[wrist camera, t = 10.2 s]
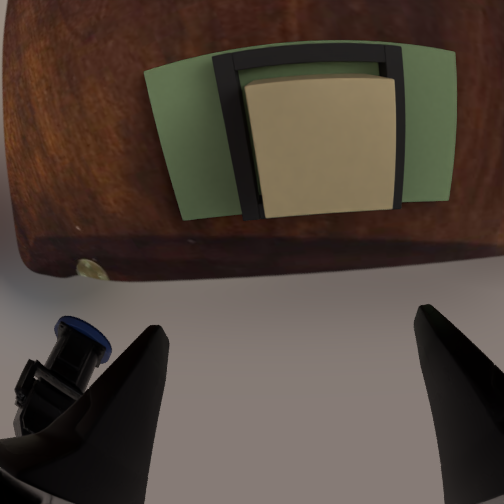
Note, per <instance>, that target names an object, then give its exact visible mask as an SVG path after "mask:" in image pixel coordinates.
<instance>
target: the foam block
mask: <svg viewBox="0 0 504 504" xmlns="http://www.w3.org/2000/svg"><path fill="white" fill-rule="evenodd" d="M244 88H245V94H246V100H247V106H248V112H249V118H250V124H251V130H252V136H253V142H254V148H255V155H256V161H257V167H258V174H259V180H260V186H261V193H262V199H263V206H264V213H265V217H266V218H274V217H286V216H298V215H311V214H324V213H338V212H353V211H369V210H386V209H392V208H393V196H394V181H395V160H396V102H395V82H394V79H391V78H386V77H381V76H375V75H369V74H358V73H343V74H312V75H297V76H285V77H275V78H266V79H258V80H253V81H252V82H250V83H249V84H247V85H246V86H245V87H244Z"/></svg>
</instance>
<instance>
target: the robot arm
mask: <svg viewBox="0 0 504 504" xmlns="http://www.w3.org/2000/svg"><path fill="white" fill-rule="evenodd" d="M414 331H415V336H416V341H417V347H418V353H419V359H420V365H421V369H422V373H423V377H424V380H425V385H426V389H427V393H428V398H429V402H430V406H431V411H432V415H433V421H434V426H435V431H436V437H437V443H438V449H439V454H440V462H441V471H442V479H443V489H444V501H445V504H504V373H503V372H502V371H501V370H500V369H499V368H498V367H497V366H496V365H494V363H493V362H492V361H491V360H490V359H489V358H488V357H487V356H486V355H485V354H484V353H483V352H482V351H481V350H480V349H479V348H478V347H477V346H476V345H475V344H474V343H472V342H471V341H470V340H469V339H468V338H467V337H466V336H465V335H464V334H463V333H462V332H461V331H460V330H459V329H457V328H456V327H455V326H454V325H453V324H452V323H451V322H450V321H449V320H448V319H447V318H445V317H444V316H443V315H442V314H441V313H440V312H439V311H438V310H436V309H435V308H434V307H433V306H432V305H430V304H426V305H421V306H419V308H418V311H417V314H416V317H415V320H414ZM105 351H106V347H105V346H104V345H102V344H100V343H98V342H96V341H95V340H93V339H91V338H89V337H88V336H86V335H84V334H83V333H81V332H79V331H78V330H76V329H74V328H73V327H71V326H69V325H68V324H66V323H65V322H63V321H61V322H60V323H59V327H58V337H57V342H56V344H55V346H54V348H53V350H52V352H51V354H50V355H49V357H48V360H47V361H46V363H45V365H44V366H43V365H42V364H41V363H40V362H39V361H38V360H36V361H33V360H30V359H29V360H28V362H27V364H26V366H25V368H24V369H23V371H22V373H21V376H20V378H19V380H18V382H17V385H16V387H15V393H16V401H15V405H16V406H18V407H19V409H18V411H17V414H16V416H15V419H14V422H13V425H14V430H15V435H16V437H13V438H7V439H0V467H1V468H0V504H144V501H145V494H146V486H147V481H148V477H147V476H148V473H149V466H150V461H151V455H152V449H153V443H154V438H155V432H156V427H157V421H158V416H159V411H160V406H161V401H162V396H163V391H164V386H165V381H166V372H167V362H168V353H169V339H168V337H167V336H166V334H165V332H164V330H163V328H162V327H161V326H160V325H150V326H149V327H147V328H146V329H145V330H144V331H143V333H141V334H140V336H138V338H137V339H136V340H135V341H134V342H133V343H132V344H131V345H130V346H129V347H128V348H127V349H126V350H125V351H124V352H123V353H122V354H121V355H120V356H119V357H118V358H117V359H116V360H115V361H114V362H113V363H112V364H111V365H110V366H109V368H107V369H106V371H105V372H104V373H103V374H102V375H101V376H100V377H99V378H98V379H97V380H96V381H95V382H94V383H93V384H92V385H91V386H90V388H89V389H87V390H86V387H87V385H88V382H89V380H90V378H91V375H92V373H93V371H94V368H95V367H97V368H98V367H99V365H100V363H101V360H102V358H103V356H104V353H105ZM34 376H36V377H37V378H38V380H36V379H35V378H34ZM85 390H86V391H85Z"/></svg>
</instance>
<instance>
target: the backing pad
mask: <svg viewBox="0 0 504 504" xmlns="http://www.w3.org/2000/svg"><path fill="white" fill-rule="evenodd" d="M343 73H358V74H369V75H375V76H381V77H386V78H391V79H394V82H395V102H396V160H395V181H394V196H393V208H392V209H401V205H402V202H419V201H448V200H449V194H450V187H451V180H452V172H453V163H454V153H455V140H456V120H457V78H456V59H455V52H453V51H448V50H443V49H437V48H431V47H425V46H418V45H410V44H402V43H392V42H379V41H359V40H320V41H300V42H286V43H276V44H267V45H259V46H252V47H245V48H239V49H233V50H227V51H222V52H217V53H212V54H207V55H202V56H198V57H194V58H190V59H186V60H182V61H178V62H174V63H171V64H167V65H163V66H160V67H157V68H153V69H150V70H147V71H144V76H145V81H146V85H147V89H148V94H149V98H150V102H151V106H152V110H153V115H154V119H155V123H156V126H157V130H158V134H159V138H160V142H161V146H162V149H163V153H164V157H165V161H166V164H167V168H168V171H169V175H170V178H171V182H172V185H173V189H174V192H175V196H176V199H177V203H178V206H179V209H180V213H181V216H182V219H183V220H192V219H201V218H210V217H219V216H228V215H238V214H242V216H243V220H244V221H247V220H257V219H260V218H261V219H267V218H266V217H265V213H264V206H263V199H262V193H261V186H260V180H259V174H258V167H257V161H256V155H255V148H254V142H253V136H252V130H251V124H250V118H249V112H248V106H247V100H246V94H245V88H244V87H245V86H246V85H247V84H249V83H250V82H252V81H253V80H258V79H266V78H275V77H285V76H297V75H312V74H343ZM387 210H390V209H387ZM369 211H372V210H369ZM353 212H357V211H353ZM338 213H342V212H338ZM324 214H328V213H324ZM311 215H315V214H311ZM298 216H302V215H298ZM286 217H290V216H286ZM274 218H278V217H274Z"/></svg>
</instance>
